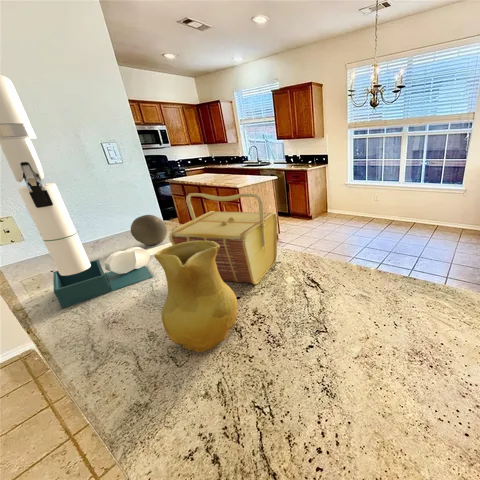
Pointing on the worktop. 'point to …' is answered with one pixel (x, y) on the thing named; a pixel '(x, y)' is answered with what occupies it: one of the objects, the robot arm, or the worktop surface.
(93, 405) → the worktop surface
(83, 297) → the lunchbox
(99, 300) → the worktop surface
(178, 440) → the worktop surface
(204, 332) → the pitcher
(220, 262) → the picnic basket
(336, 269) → the worktop surface
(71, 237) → the cylindrical container
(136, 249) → the white long scooped piece
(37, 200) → the robot arm
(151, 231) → the cantaloupe
